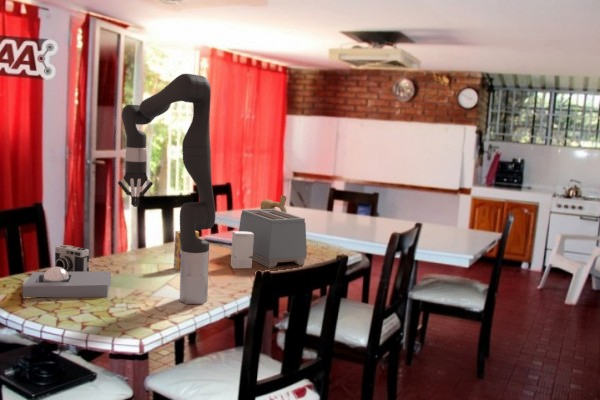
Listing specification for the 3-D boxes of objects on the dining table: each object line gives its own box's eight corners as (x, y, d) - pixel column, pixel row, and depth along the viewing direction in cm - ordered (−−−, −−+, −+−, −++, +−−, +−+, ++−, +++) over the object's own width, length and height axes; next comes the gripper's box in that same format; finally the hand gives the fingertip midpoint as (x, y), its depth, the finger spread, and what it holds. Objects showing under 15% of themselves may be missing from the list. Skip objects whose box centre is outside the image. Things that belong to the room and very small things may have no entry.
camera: (45, 271, 221) (46, 245, 220) (66, 267, 229) (67, 242, 228) (69, 278, 214) (70, 251, 213) (89, 274, 222) (91, 248, 221)
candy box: (177, 270, 233) (178, 232, 231) (173, 267, 237) (174, 230, 235) (198, 268, 238) (199, 231, 236) (193, 265, 242) (195, 229, 240)
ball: (68, 271, 196) (43, 268, 194) (65, 294, 196) (39, 291, 194) (71, 265, 203) (47, 262, 201) (68, 287, 204) (44, 285, 202)
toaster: (268, 248, 283) (270, 207, 280) (306, 265, 254) (309, 219, 251) (232, 251, 273) (234, 208, 270) (268, 269, 244) (270, 220, 241)
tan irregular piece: (273, 237, 310) (275, 191, 307) (296, 244, 295) (299, 195, 292) (246, 240, 299) (249, 192, 296) (269, 247, 284) (272, 197, 281)
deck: (107, 296, 195) (107, 285, 194) (22, 298, 188) (22, 286, 188) (110, 281, 212) (110, 271, 212) (33, 283, 206) (33, 272, 205)
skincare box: (232, 269, 240) (234, 233, 238) (230, 265, 246) (231, 230, 244) (252, 268, 243) (254, 233, 241) (249, 265, 248) (251, 230, 246)
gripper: (116, 160, 209) (116, 207, 211) (154, 161, 212) (153, 208, 215) (117, 158, 216) (117, 204, 218) (154, 159, 219) (153, 205, 222)
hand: (135, 206), depth 216 cm, fingers closed
